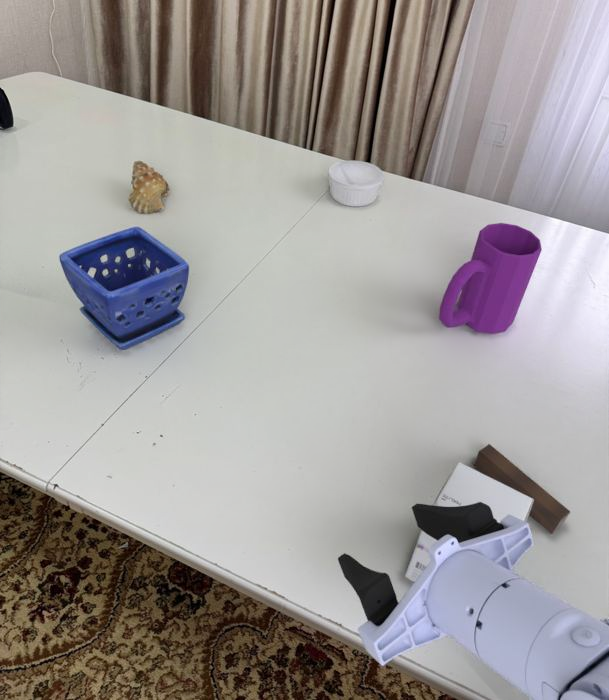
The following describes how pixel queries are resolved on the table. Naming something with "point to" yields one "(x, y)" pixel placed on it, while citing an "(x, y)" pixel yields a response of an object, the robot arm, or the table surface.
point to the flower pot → (128, 285)
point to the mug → (492, 280)
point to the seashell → (147, 189)
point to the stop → (522, 487)
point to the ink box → (467, 490)
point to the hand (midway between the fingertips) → (382, 539)
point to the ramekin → (355, 182)
